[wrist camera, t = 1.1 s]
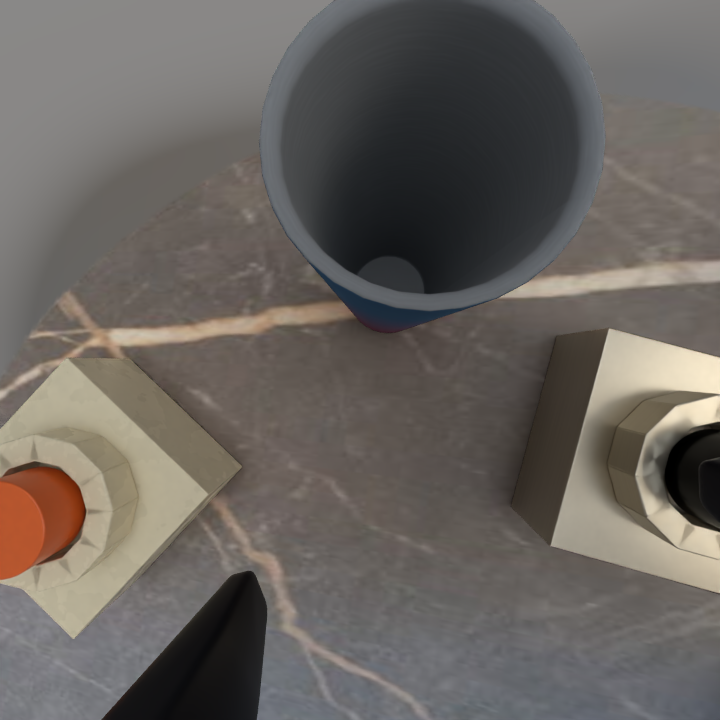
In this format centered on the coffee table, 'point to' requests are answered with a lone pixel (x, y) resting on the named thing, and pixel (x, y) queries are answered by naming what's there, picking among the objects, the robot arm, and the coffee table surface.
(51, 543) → the power button
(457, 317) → the coffee table surface
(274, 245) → the coffee table surface
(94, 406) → the beige button housing
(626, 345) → the beige button base
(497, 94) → the cup
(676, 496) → the button
